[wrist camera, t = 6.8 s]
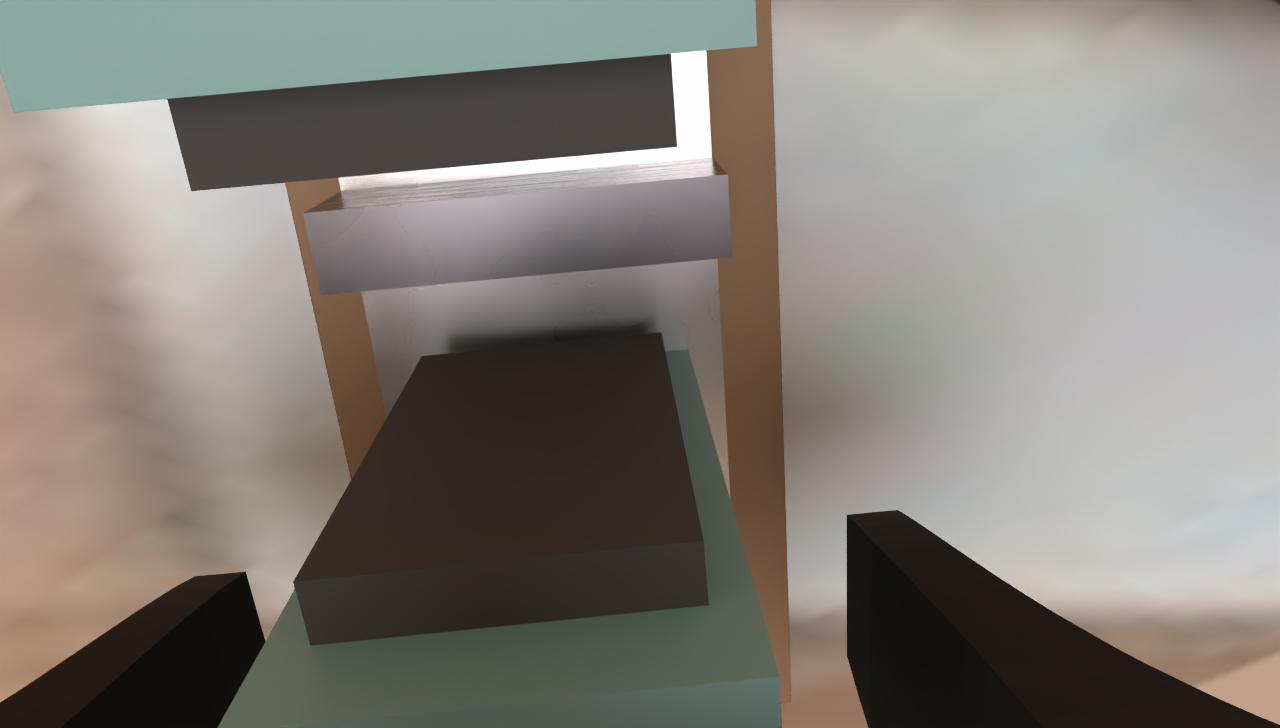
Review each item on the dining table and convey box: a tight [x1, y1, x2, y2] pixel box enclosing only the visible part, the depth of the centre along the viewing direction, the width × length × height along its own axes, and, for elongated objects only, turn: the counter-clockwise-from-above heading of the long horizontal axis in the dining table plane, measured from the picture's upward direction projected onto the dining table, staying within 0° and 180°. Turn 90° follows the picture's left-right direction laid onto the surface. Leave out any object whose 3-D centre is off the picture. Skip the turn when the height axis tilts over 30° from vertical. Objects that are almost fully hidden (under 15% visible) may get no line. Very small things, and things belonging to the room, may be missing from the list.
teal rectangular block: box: [218, 332, 782, 728], centre depth 10 cm, size 5×4×7 cm
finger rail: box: [0, 0, 791, 703], centre depth 10 cm, size 7×16×9 cm, turn 5°
